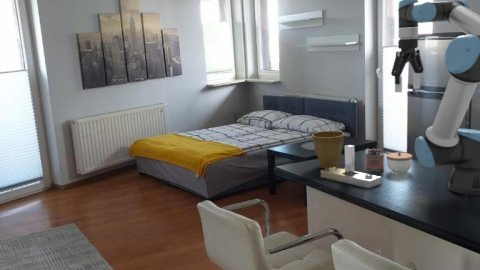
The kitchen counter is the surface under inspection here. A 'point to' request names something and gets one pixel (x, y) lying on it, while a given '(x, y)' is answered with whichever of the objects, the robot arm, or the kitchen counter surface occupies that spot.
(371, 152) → the lighter
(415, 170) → the kitchen counter surface
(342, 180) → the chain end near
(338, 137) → the plant pot
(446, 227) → the kitchen counter surface
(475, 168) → the robot arm
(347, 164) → the pin
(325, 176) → the frame
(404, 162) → the lidded jar
